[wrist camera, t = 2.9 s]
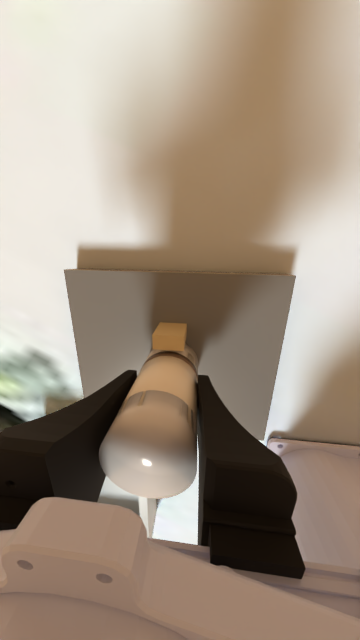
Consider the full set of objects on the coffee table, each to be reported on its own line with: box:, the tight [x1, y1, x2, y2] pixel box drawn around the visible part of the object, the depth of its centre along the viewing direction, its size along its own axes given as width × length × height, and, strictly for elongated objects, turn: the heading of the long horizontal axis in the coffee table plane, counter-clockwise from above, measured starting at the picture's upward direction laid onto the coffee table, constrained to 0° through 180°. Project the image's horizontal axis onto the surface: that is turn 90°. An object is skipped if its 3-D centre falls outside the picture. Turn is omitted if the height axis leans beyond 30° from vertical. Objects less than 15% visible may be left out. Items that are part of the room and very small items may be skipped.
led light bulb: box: [99, 343, 198, 499], centre depth 12 cm, size 4×4×8 cm
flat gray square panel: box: [64, 269, 296, 440], centre depth 15 cm, size 16×14×4 cm
